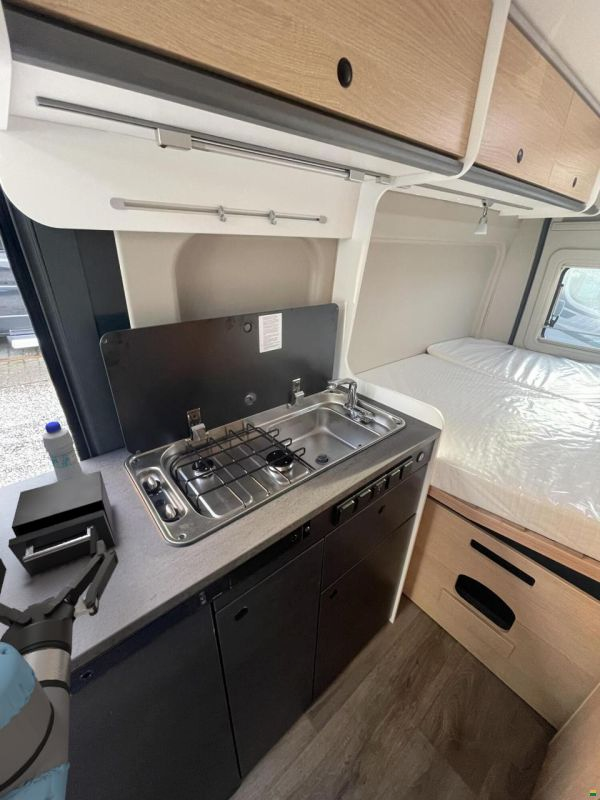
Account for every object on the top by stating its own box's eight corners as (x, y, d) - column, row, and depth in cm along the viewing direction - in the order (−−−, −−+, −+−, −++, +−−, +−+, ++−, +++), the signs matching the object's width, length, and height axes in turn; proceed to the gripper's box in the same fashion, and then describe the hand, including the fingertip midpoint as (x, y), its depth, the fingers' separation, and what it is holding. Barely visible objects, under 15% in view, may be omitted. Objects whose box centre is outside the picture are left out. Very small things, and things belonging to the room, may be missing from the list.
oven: (115, 541, 78) (102, 499, 73) (32, 571, 71) (11, 527, 65) (112, 509, 88) (100, 470, 82) (38, 533, 80) (20, 491, 75)
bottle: (82, 485, 96) (63, 426, 88) (55, 490, 94) (33, 430, 86) (86, 471, 102) (68, 415, 94) (61, 476, 100) (40, 419, 91)
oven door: (117, 558, 75) (105, 527, 68) (30, 591, 68) (6, 561, 60) (115, 541, 78) (103, 509, 71) (31, 571, 71) (8, 539, 63)
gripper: (-89, 750, 37) (-35, 595, 54) (146, 633, 49) (131, 535, 65) (-124, 718, 34) (-56, 564, 51) (137, 600, 46) (123, 506, 62)
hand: (50, 547), depth 58 cm, fingers open, 13 cm apart
